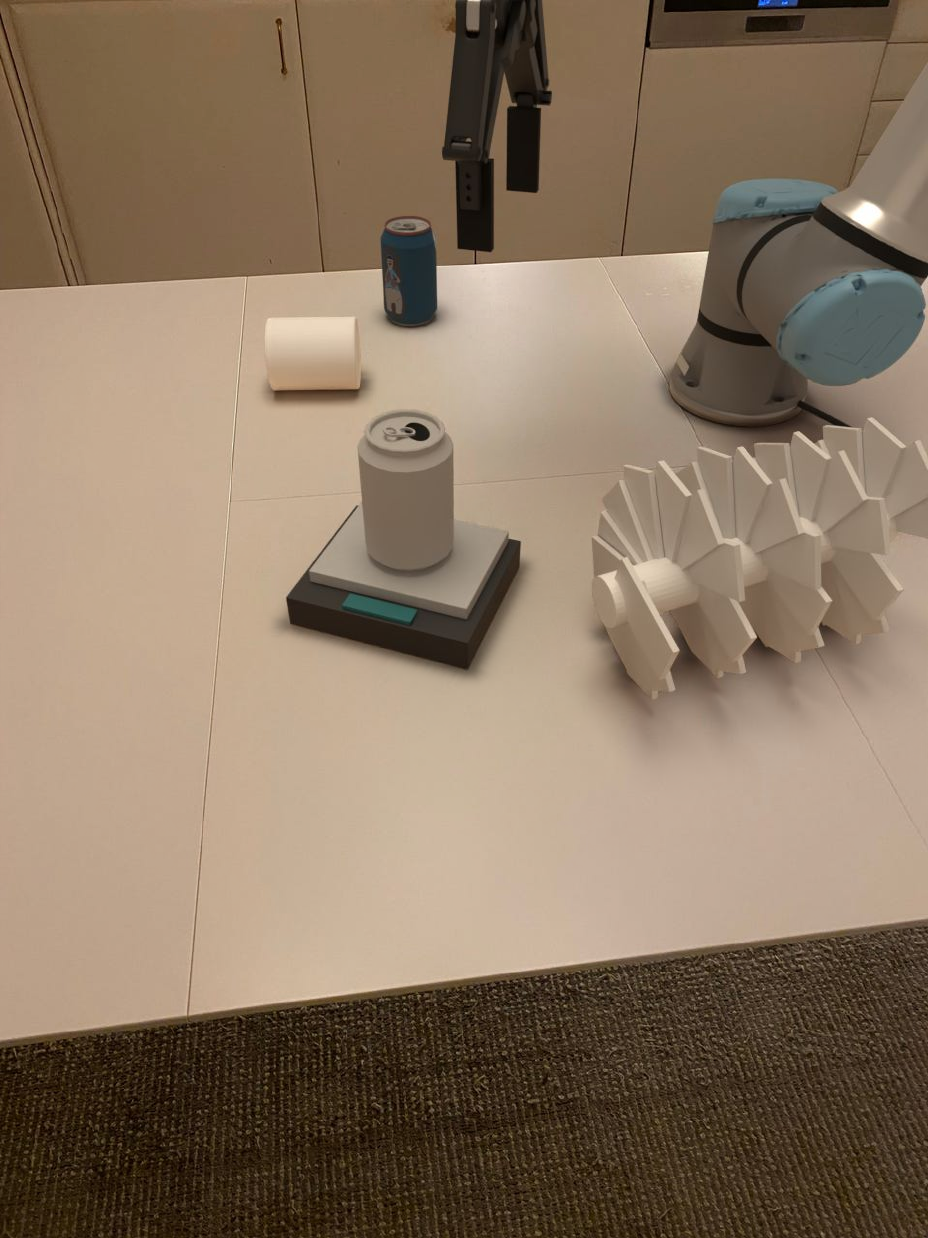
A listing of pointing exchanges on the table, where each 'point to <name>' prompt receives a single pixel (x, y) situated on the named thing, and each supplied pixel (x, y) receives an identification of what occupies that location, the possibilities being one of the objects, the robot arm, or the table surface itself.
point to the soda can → (409, 270)
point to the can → (407, 489)
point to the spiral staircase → (756, 548)
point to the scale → (408, 593)
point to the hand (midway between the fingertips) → (500, 218)
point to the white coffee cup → (312, 353)
